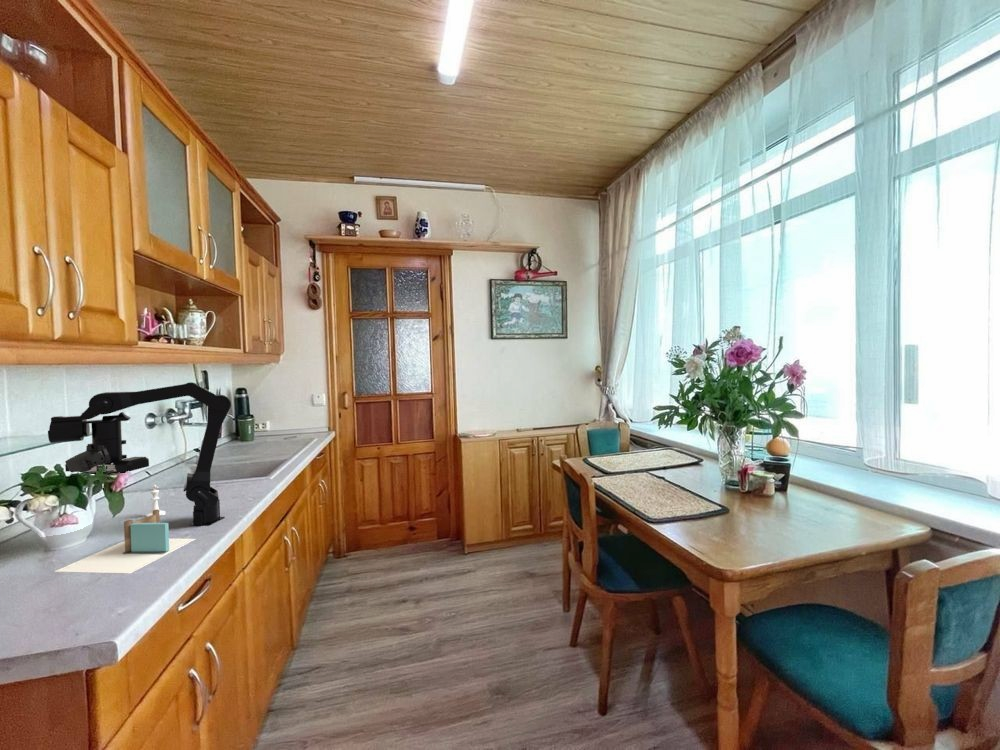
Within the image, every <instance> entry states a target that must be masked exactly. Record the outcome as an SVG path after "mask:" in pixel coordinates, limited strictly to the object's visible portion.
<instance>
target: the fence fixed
mask: <svg viewBox="0 0 1000 750" xmlns="http://www.w3.org/2000/svg"><path fill="white" fill-rule="evenodd" d="M159 509H160V508H159ZM159 509H157V510H153V515H150V516H148V517H146V516H145V517H144V518H143V517H142V518H141V519H138V520H135V521H133V520H134V519H128V520H125V521H123V530H124V541H125V553H130V552H131V526H130V524H133V523H161V519H160V516H161V515H159Z"/></svg>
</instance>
